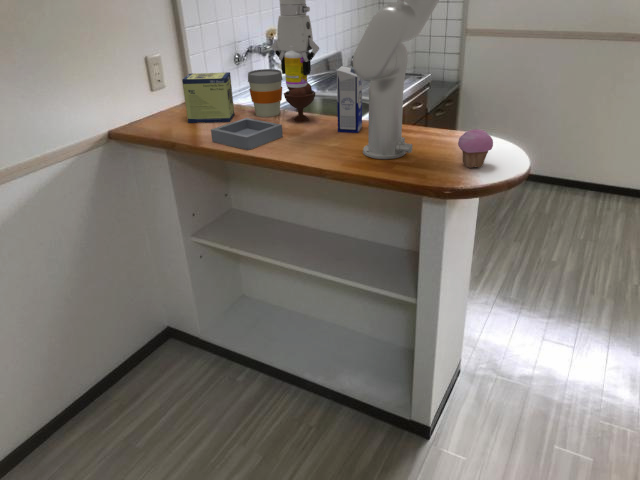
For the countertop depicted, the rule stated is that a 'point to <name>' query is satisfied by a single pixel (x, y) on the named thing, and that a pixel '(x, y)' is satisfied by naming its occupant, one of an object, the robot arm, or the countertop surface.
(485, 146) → the cupcake
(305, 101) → the ice cream bowl
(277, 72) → the reusable coffee cup
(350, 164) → the countertop surface
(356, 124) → the milk carton
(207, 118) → the protein box
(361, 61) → the robot arm
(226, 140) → the gray rectangular tray
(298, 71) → the supplement bottle
